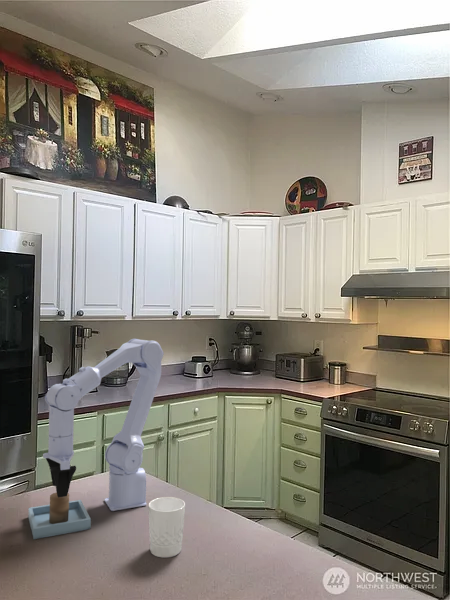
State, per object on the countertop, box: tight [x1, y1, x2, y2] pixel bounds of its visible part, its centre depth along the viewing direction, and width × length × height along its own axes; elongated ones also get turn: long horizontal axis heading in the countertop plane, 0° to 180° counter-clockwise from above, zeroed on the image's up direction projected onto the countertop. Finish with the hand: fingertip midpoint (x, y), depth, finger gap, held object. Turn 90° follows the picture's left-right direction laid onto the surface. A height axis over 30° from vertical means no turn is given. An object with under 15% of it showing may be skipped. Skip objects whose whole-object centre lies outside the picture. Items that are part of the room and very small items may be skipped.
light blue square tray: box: [27, 499, 92, 540], centre depth 118 cm, size 13×13×2 cm
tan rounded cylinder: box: [49, 492, 70, 524], centre depth 118 cm, size 4×4×6 cm
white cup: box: [148, 496, 186, 559], centre depth 106 cm, size 8×8×10 cm
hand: (59, 490), depth 118 cm, fingers open, 7 cm apart
